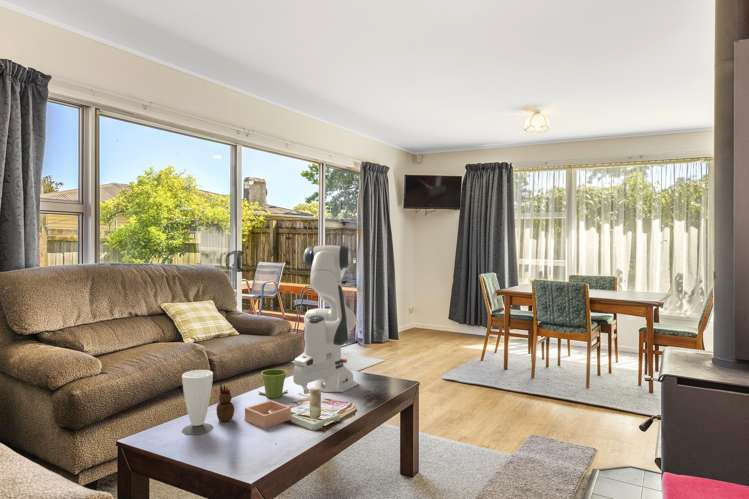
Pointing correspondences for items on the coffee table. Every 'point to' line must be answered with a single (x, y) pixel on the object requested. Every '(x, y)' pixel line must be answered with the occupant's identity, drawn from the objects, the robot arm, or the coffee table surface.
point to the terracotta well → (264, 420)
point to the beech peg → (315, 403)
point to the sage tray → (313, 425)
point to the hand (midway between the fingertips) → (315, 390)
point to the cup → (197, 400)
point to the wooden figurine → (225, 405)
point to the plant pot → (273, 382)
